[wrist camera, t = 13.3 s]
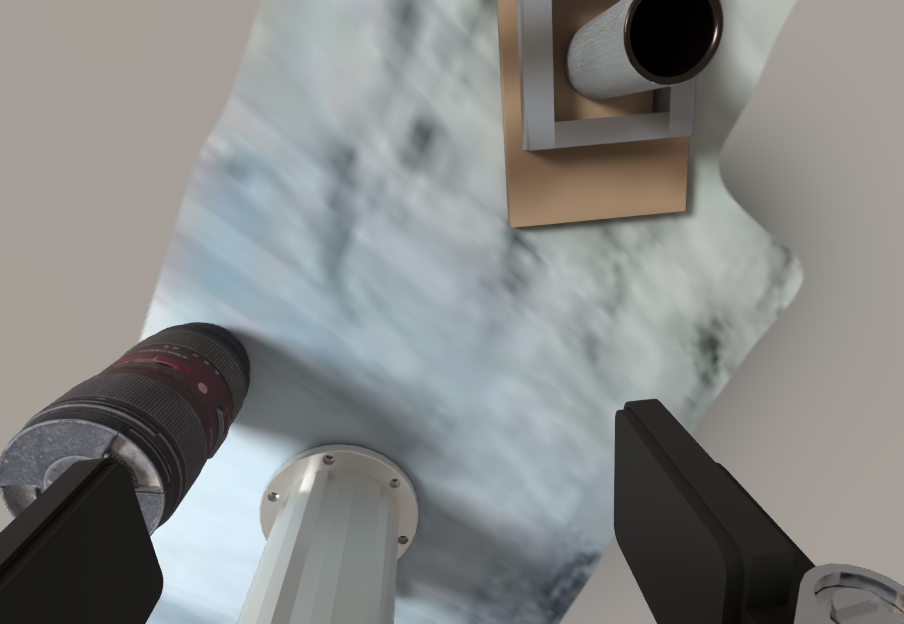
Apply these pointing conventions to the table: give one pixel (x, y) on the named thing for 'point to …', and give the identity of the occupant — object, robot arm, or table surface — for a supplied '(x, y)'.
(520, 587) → the table surface
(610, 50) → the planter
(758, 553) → the robot arm
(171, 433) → the camera lens
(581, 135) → the socket board
